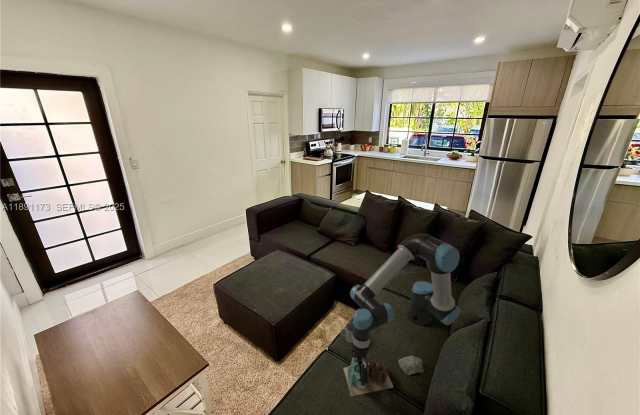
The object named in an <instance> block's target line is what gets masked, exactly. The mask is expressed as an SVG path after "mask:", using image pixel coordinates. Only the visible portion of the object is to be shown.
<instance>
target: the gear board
mask: <svg viewBox="0 0 640 415" xmlns="http://www.w3.org/2000/svg"><path fill="white" fill-rule="evenodd" d="M368 365H369V362H368ZM342 369H343V372H344V375H345V379H346V383H347V387H348V389H349V392H350V396H351V397H354V396H359V395H365V394H369V393H373V392H378V391H382V390H388V389H392V388H394V385H393V382H392V381H391V378H390V375H389V374H388V373H389V372H388V373H387V379H386V382H385V383H383V382H381V385H377V382H375V381H374V383H372V382H371V381H370V378H371V377H368V383H366V385H365V388H362V389H359V388H358V387H355V386H356V384H354V383H353V384H351V383H350V381H349V380H350V378H349V377H348V373H349V366H346V367H343V368H342ZM375 370H378V371H380V370H381V364H380V363H376V367H375ZM356 372H357V373H360V372H359V366H357V367H356Z"/></svg>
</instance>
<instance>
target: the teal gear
mask: <svg viewBox="0 0 640 415" xmlns="http://www.w3.org/2000/svg"><path fill="white" fill-rule="evenodd" d="M359 362H360V361H359ZM357 366H359V365H358V362H355V361H354V360H353V361H352V360H351V362H350V365H348V367H349V373H348V377H349V378H350V380H349V381H350V383H351V384H353V383H354V384H356V386H355V387H358V385H359V377H360V373H357V372H356V367H357ZM365 385H366V384H365Z"/></svg>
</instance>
